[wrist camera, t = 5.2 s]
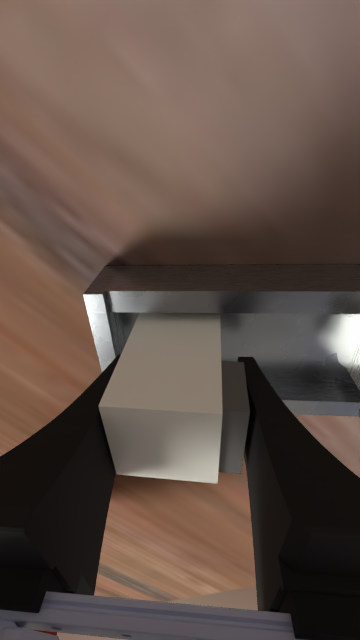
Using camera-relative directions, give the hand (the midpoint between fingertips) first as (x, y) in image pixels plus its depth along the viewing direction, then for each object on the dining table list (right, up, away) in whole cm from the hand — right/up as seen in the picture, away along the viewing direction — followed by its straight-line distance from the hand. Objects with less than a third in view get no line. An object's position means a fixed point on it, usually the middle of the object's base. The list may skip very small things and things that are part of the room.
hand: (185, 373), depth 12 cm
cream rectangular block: (0, +1, +1) cm, 2 cm away
